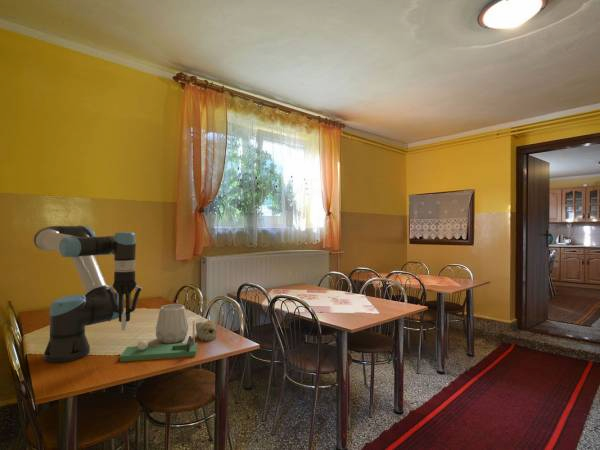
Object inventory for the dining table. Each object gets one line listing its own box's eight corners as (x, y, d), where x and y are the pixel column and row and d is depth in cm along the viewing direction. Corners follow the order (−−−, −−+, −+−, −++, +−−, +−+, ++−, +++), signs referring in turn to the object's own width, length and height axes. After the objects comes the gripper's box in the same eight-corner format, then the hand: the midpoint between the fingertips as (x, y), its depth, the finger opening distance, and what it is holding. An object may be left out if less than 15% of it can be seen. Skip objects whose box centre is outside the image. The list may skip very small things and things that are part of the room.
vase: (168, 347, 146) (169, 312, 145) (148, 340, 153) (149, 307, 153) (194, 338, 157) (195, 305, 157) (175, 332, 165) (175, 301, 165)
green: (120, 361, 130) (120, 330, 130) (127, 351, 140) (127, 322, 140) (195, 356, 136) (195, 326, 136) (197, 347, 146) (197, 319, 146)
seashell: (214, 340, 153) (205, 320, 153) (197, 348, 155) (187, 328, 155) (223, 331, 163) (214, 313, 163) (206, 339, 165) (197, 321, 165)
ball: (136, 352, 134) (136, 342, 134) (138, 348, 138) (138, 338, 138) (146, 351, 135) (146, 341, 135) (148, 348, 139) (149, 338, 139)
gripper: (103, 272, 130) (103, 333, 130) (140, 271, 132) (139, 331, 133) (110, 269, 137) (109, 327, 137) (144, 269, 140) (144, 325, 140)
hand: (124, 329), depth 135 cm, fingers closed
